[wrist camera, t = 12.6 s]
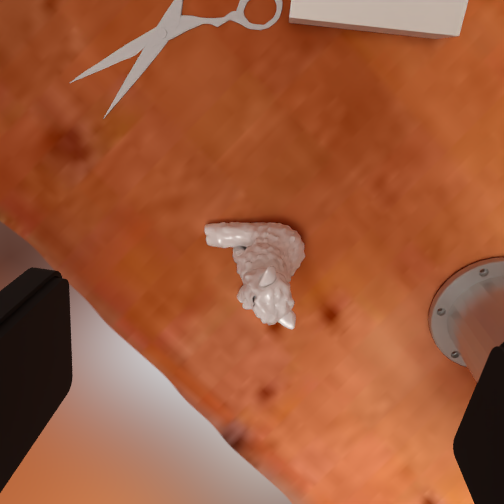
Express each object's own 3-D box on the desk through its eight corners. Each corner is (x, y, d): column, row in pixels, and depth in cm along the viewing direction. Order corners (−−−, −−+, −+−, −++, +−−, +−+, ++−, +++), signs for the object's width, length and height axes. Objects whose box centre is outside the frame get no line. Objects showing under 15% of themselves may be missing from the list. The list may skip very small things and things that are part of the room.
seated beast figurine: (201, 224, 44) (172, 279, 33) (280, 187, 42) (278, 233, 31) (244, 301, 47) (231, 375, 36) (320, 270, 45) (331, 339, 34)
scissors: (304, -3, 35) (125, 151, 41) (304, -2, 36) (127, 149, 42) (220, -135, 32) (39, 50, 38) (221, -130, 33) (44, 51, 39)
